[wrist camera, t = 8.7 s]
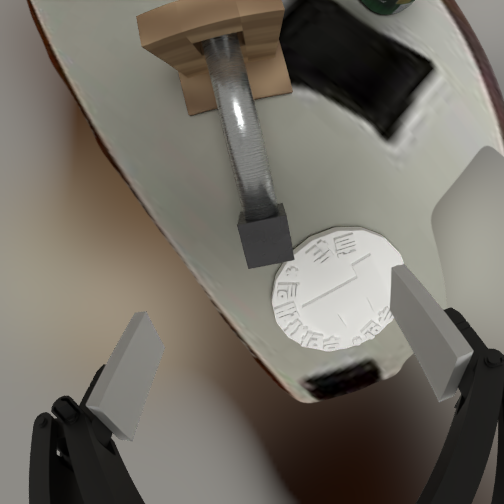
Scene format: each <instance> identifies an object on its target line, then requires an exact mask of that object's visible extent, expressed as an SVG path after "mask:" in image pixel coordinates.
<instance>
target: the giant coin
mask: <svg viewBox="0 0 504 504" xmlns="http://www.w3.org/2000/svg"><path fill="white" fill-rule="evenodd" d="M293 254H294V259H295V260H292V261H287V262H283V264H282V265H281V267H280V268H279V270H278V272H277V273H276V275H275V280H274V286H273V291H272V296H271V298H272V305H273V309H274V314H275V318H276V322H277V323H278V325H279V326H280V327H281V329H282V330H283V331H284V333H285V334H286V335H287V336H288V337H289V338H290V339H292V340H294V341H296V342H297V343H299V344H301V346H303V347H308V348H314V349H319V350H324V351H334V350H337V349H346V348H349V347H351V346H355V345H357V346H358V345H360V343H362V342H364V341H367V340H368V339H369V338H370V339H371V340H372V339H373V338H374V337H375V336H374V335H376V334H378V333H379V332H380V331H381V330H382V329H384V327H385V326H386V325H387V324H388V323H390V322H391V321H392V320H393V318H394V317H393V315H392V313H391V312H390V295H391V267H394V266H398V265H402V264H404V263H403V260H402V257H401V254H400V253H399V252H398V251H397V250H396V249H395V248H394V247H393V246H392V245H391V244H390V243H389V242H388V241H387V240H386V239H385V238H384V237H383V236H382V235H381V234H378V233H376V232H373V231H371V230H368V229H365V228H363V227H334V228H331V229H329V230H326V231H323V232H321V233H318V234H315V235H313V236H310V237H309V238H307V239H306V240H305V241H304V242H302V243H301V244H300V245H299V246H298V247H296V248H295V249H294V250H293Z"/></svg>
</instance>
